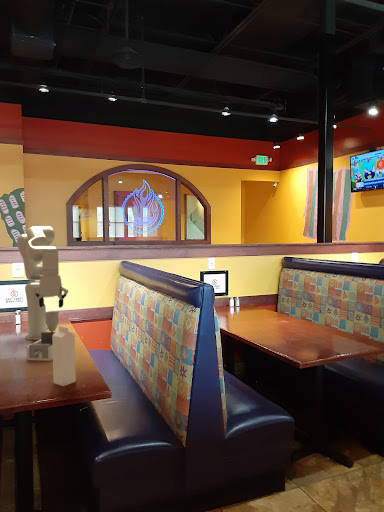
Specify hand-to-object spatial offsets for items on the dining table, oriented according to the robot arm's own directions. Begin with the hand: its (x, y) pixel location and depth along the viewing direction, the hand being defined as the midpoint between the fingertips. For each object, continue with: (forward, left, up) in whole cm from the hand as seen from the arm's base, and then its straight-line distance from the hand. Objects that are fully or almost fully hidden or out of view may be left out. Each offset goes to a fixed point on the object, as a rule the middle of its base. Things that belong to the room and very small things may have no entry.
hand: (51, 306), depth 203 cm
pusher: (+11, 0, -21) cm, 23 cm away
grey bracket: (+5, 0, -22) cm, 23 cm away
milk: (+42, +23, -22) cm, 53 cm away
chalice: (0, 0, -21) cm, 21 cm away
